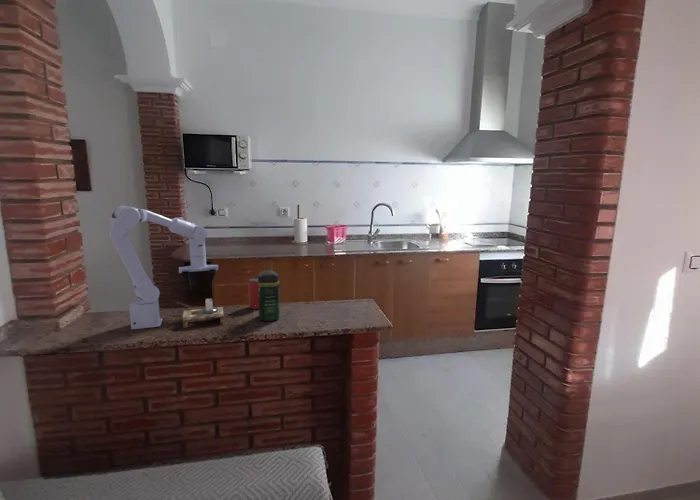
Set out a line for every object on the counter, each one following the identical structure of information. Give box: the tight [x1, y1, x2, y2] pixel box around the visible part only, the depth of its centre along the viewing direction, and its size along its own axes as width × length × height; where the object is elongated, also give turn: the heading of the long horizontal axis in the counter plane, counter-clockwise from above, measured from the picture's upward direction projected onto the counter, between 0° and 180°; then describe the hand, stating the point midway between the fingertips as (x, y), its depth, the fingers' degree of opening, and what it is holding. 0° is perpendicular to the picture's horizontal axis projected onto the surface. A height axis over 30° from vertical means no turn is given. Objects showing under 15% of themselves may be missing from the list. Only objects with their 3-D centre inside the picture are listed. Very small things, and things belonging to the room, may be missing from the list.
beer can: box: [247, 277, 259, 310], centre depth 164 cm, size 7×7×12 cm
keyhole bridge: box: [182, 306, 225, 329], centre depth 147 cm, size 14×8×4 cm, turn 110°
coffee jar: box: [257, 269, 280, 322], centre depth 151 cm, size 10×8×19 cm
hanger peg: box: [200, 298, 218, 321], centre depth 147 cm, size 6×6×7 cm
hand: (200, 288), depth 156 cm, fingers open, 7 cm apart
